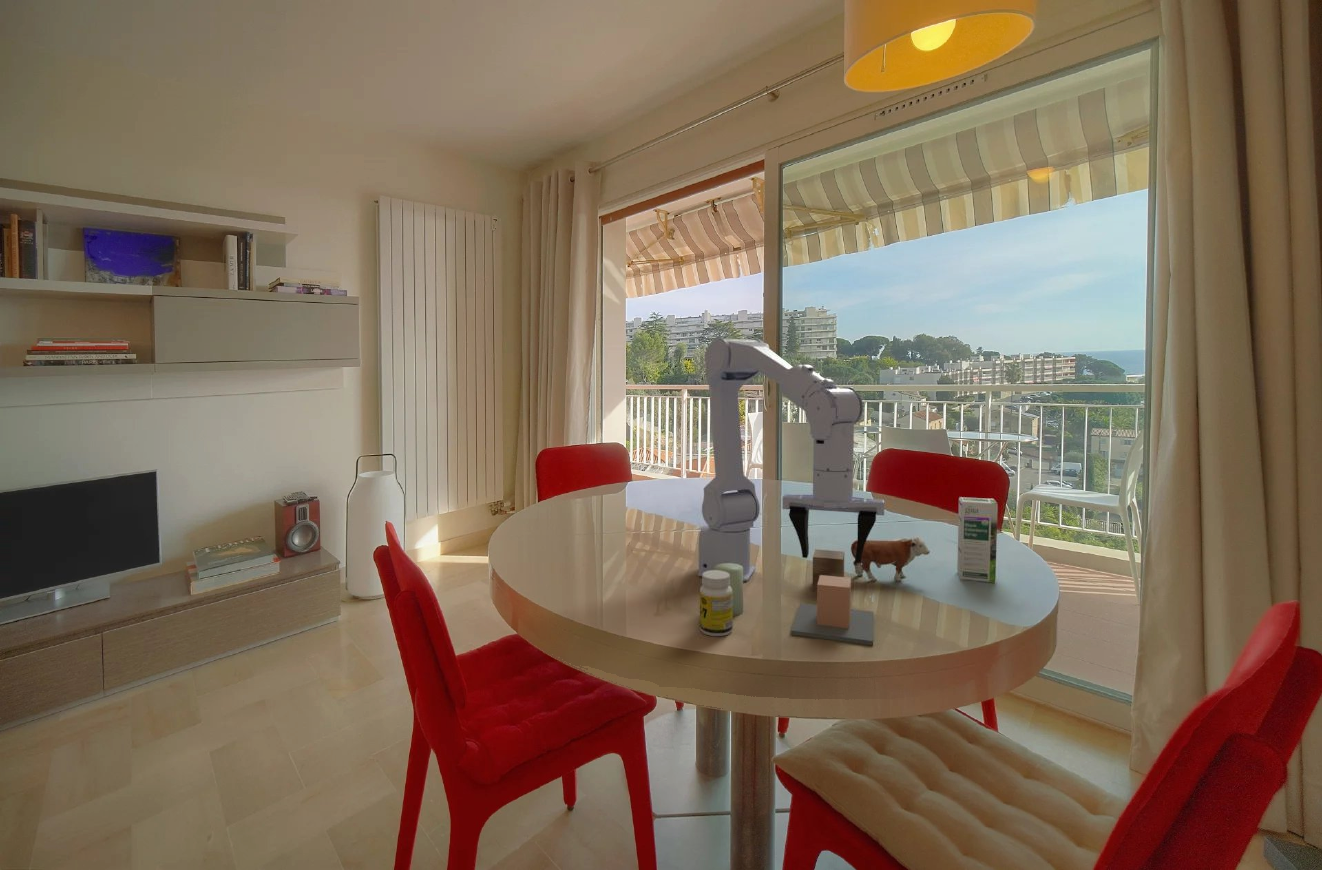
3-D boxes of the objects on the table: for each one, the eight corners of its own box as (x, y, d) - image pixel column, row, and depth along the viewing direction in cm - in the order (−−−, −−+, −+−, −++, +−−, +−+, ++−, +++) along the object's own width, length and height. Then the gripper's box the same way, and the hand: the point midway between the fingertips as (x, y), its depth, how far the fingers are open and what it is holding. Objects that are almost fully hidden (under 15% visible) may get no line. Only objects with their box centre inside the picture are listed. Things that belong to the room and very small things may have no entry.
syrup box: (959, 580, 105) (962, 501, 104) (956, 570, 111) (958, 495, 110) (995, 584, 103) (998, 503, 102) (990, 574, 109) (993, 497, 108)
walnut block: (812, 590, 101) (812, 556, 101) (815, 581, 106) (815, 549, 105) (842, 593, 99) (843, 559, 99) (843, 584, 104) (844, 551, 104)
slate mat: (791, 634, 83) (791, 630, 83) (800, 607, 94) (800, 603, 94) (873, 645, 79) (873, 641, 79) (873, 615, 90) (873, 611, 90)
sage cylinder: (711, 613, 91) (711, 570, 91) (719, 604, 95) (719, 562, 95) (739, 617, 90) (739, 573, 89) (745, 607, 94) (745, 564, 93)
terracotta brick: (816, 624, 85) (817, 584, 85) (819, 613, 89) (819, 575, 89) (849, 628, 84) (849, 587, 83) (850, 616, 88) (850, 578, 87)
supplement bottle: (697, 624, 87) (697, 569, 87) (728, 623, 88) (728, 568, 87) (702, 638, 82) (702, 580, 82) (735, 636, 83) (735, 578, 82)
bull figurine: (930, 585, 103) (932, 539, 103) (851, 581, 106) (852, 536, 105) (924, 577, 107) (925, 533, 107) (848, 573, 110) (849, 530, 109)
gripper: (779, 470, 86) (778, 561, 87) (885, 475, 80) (883, 571, 82) (786, 464, 92) (785, 548, 93) (884, 468, 87) (882, 557, 88)
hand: (831, 558), depth 88 cm, fingers open, 7 cm apart
